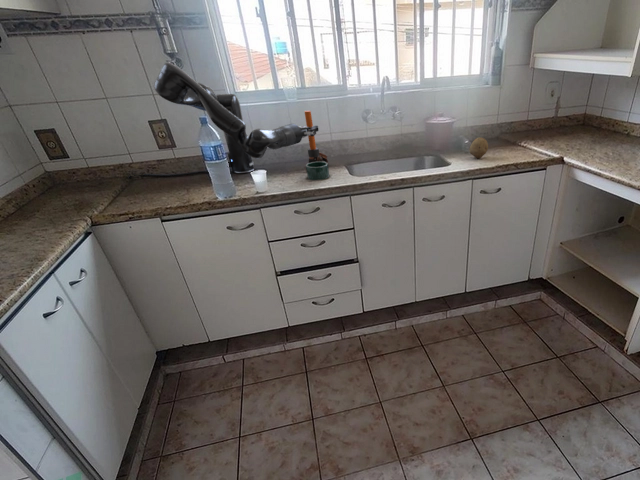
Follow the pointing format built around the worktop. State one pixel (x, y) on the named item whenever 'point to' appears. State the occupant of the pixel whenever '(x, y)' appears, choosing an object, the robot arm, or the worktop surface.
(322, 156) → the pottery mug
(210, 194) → the worktop surface
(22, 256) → the worktop surface
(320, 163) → the utensil cup
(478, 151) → the brown potato
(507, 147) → the worktop surface
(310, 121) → the dish brush
